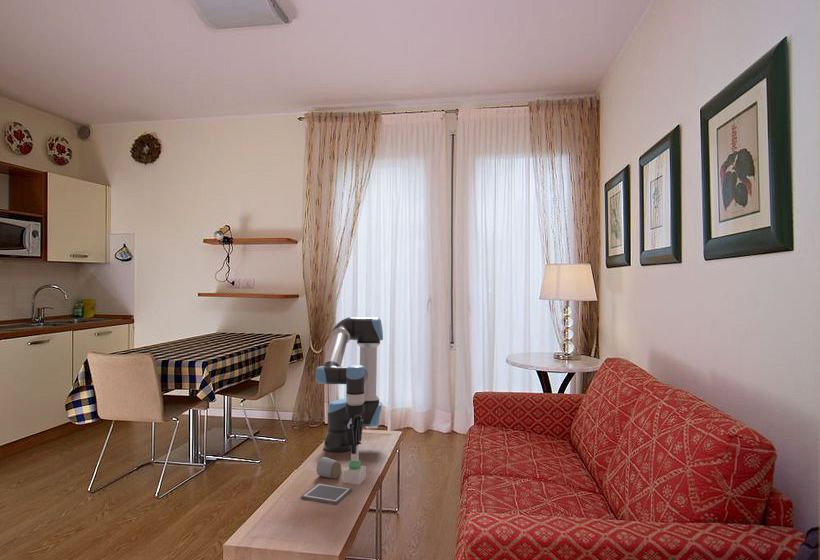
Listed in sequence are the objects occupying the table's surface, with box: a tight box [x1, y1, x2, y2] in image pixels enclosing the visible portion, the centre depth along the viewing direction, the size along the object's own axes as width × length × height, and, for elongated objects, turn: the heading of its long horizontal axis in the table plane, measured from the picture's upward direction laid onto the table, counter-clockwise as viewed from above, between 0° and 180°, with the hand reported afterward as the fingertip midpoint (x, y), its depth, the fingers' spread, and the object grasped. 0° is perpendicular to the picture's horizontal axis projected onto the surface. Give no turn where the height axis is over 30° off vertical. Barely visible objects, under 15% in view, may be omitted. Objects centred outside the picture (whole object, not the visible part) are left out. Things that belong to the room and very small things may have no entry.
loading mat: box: [300, 482, 353, 505], centre depth 186 cm, size 13×15×1 cm
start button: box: [348, 459, 362, 468], centre depth 200 cm, size 5×5×2 cm
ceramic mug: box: [316, 456, 343, 480], centre depth 205 cm, size 11×8×8 cm
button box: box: [342, 465, 367, 486], centre depth 200 cm, size 7×7×5 cm
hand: (354, 460), depth 200 cm, fingers closed
